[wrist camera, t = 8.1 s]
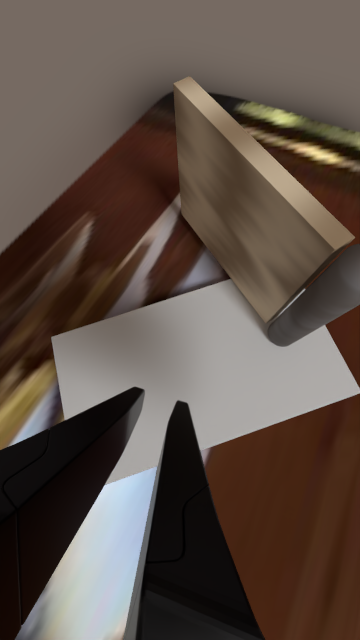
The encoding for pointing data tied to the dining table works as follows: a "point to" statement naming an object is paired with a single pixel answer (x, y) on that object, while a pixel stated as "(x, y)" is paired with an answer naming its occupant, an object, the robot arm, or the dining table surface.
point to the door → (261, 222)
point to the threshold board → (197, 370)
